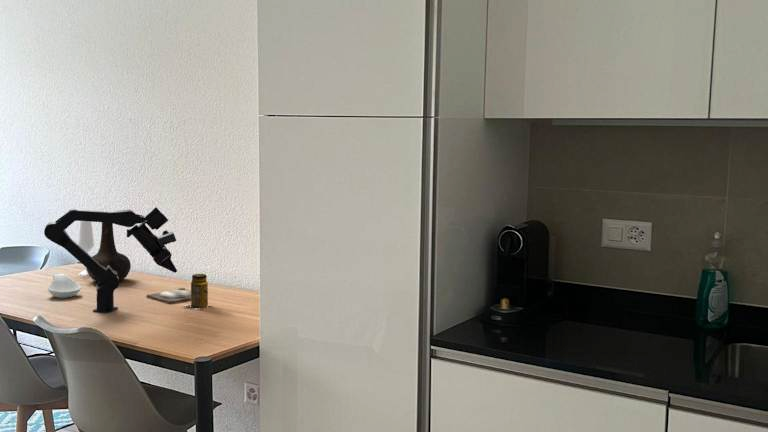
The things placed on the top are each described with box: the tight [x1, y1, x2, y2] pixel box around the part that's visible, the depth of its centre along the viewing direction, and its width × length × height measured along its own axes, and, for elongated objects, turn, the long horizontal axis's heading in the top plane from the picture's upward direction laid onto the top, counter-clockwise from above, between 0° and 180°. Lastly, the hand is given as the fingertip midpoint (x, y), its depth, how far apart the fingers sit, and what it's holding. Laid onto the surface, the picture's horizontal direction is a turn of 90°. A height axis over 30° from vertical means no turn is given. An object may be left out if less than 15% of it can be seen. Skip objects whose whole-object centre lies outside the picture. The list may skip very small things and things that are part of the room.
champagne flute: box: [77, 221, 95, 276], centre depth 337 cm, size 7×7×24 cm
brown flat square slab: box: [146, 287, 191, 305], centre depth 294 cm, size 16×16×2 cm
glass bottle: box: [87, 222, 132, 284], centre depth 321 cm, size 18×18×28 cm
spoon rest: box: [47, 273, 82, 299], centre depth 298 cm, size 24×12×7 cm, turn 33°
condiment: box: [183, 273, 209, 311], centre depth 279 cm, size 7×8×12 cm
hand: (174, 269), depth 280 cm, fingers open, 9 cm apart
